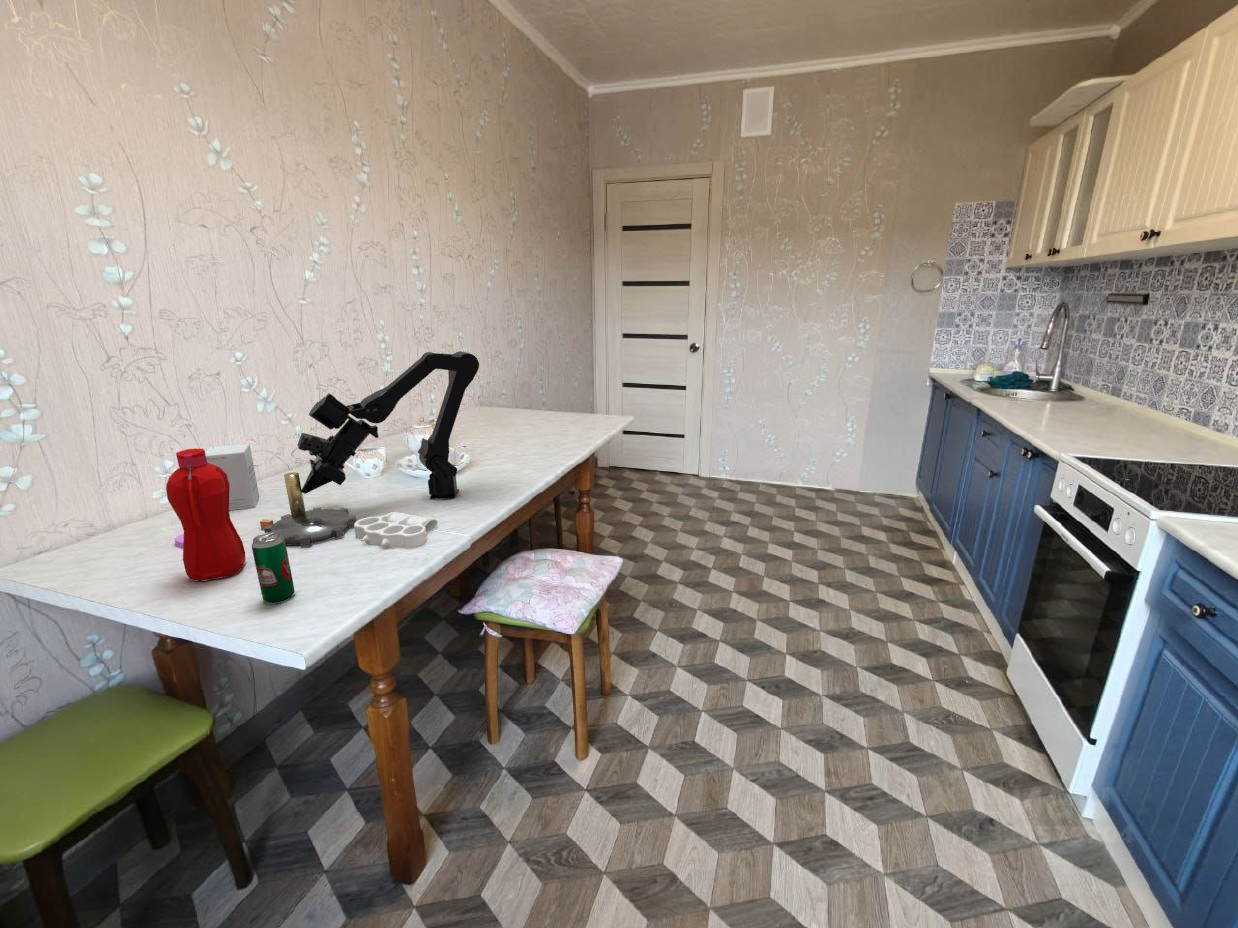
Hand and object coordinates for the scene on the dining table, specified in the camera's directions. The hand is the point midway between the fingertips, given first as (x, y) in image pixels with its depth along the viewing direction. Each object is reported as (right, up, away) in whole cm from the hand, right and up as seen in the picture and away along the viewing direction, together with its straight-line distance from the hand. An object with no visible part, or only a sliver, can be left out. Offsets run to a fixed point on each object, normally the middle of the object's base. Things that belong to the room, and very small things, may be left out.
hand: (303, 492), depth 134 cm
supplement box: (-24, -4, +13) cm, 28 cm away
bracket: (-17, -11, -10) cm, 22 cm away
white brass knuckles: (+24, -10, -5) cm, 27 cm away
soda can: (+13, -18, -31) cm, 38 cm away
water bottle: (-4, -15, -23) cm, 27 cm away
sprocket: (+4, -9, -3) cm, 10 cm away
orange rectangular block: (-7, -8, -2) cm, 11 cm away
